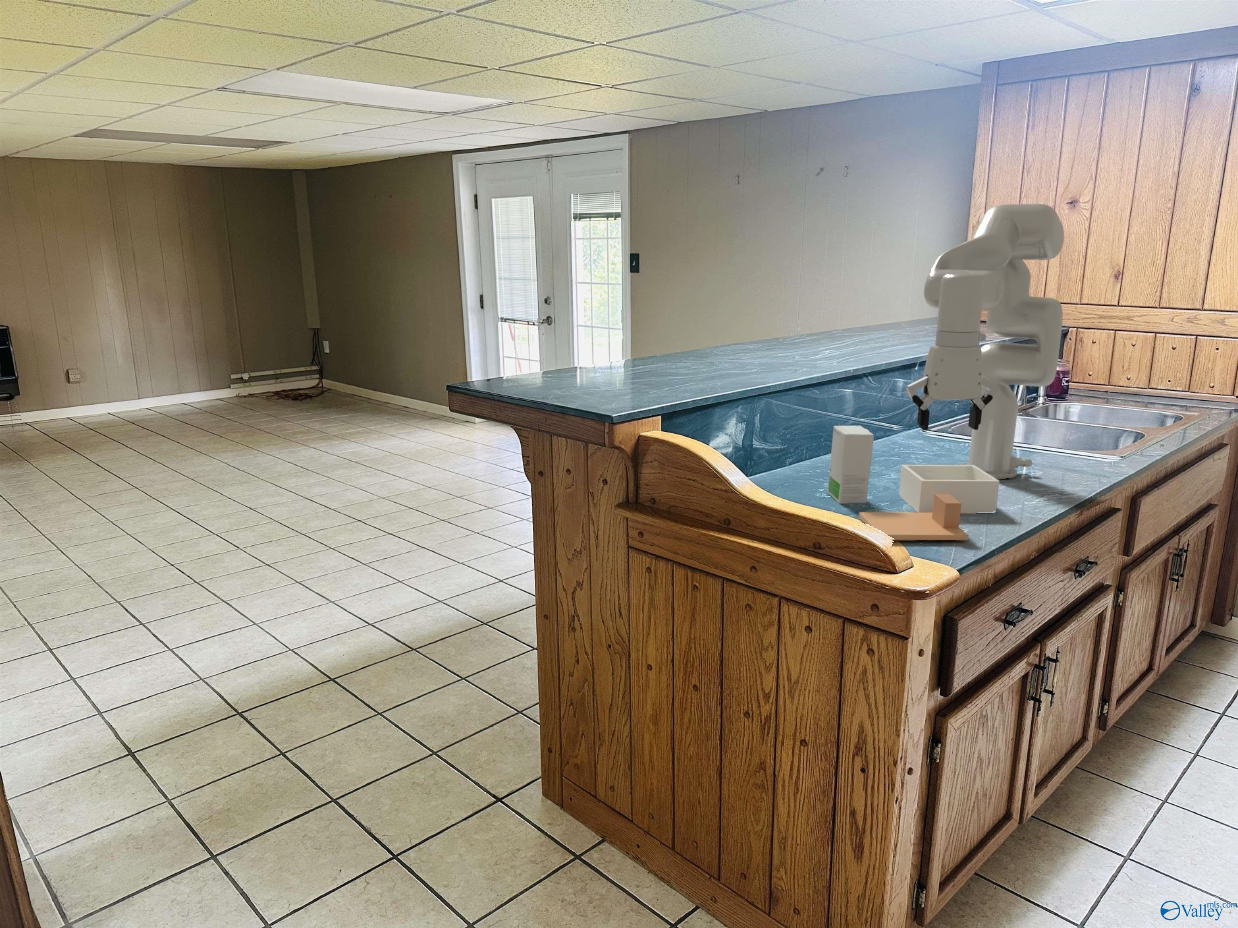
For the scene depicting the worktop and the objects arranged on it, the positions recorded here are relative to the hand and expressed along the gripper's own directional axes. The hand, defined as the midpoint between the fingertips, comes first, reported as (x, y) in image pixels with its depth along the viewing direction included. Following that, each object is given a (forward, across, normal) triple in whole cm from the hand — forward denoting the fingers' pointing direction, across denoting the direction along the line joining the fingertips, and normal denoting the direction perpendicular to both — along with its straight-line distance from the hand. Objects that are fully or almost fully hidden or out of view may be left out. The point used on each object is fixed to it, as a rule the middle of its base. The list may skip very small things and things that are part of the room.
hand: (948, 428), depth 166 cm
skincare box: (+20, +14, -17) cm, 30 cm away
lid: (+19, +7, +5) cm, 21 cm away
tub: (+20, -6, -13) cm, 25 cm away
